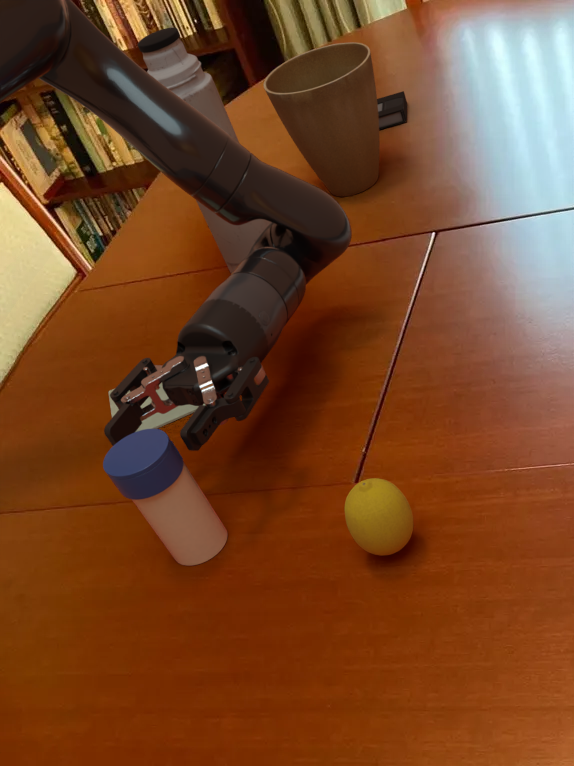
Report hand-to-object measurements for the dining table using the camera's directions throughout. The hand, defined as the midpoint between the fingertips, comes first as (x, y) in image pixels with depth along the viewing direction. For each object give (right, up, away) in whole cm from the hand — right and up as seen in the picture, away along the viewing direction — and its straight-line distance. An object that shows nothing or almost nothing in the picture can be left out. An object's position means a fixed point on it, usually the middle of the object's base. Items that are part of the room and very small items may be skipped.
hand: (148, 441), depth 77 cm
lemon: (+22, -10, 0) cm, 24 cm away
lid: (0, -1, -1) cm, 2 cm away
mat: (-8, +10, +26) cm, 29 cm away
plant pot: (+13, +47, +51) cm, 70 cm away
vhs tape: (+13, +62, +65) cm, 91 cm away
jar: (+3, -8, +7) cm, 11 cm away
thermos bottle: (0, +32, +43) cm, 54 cm away
